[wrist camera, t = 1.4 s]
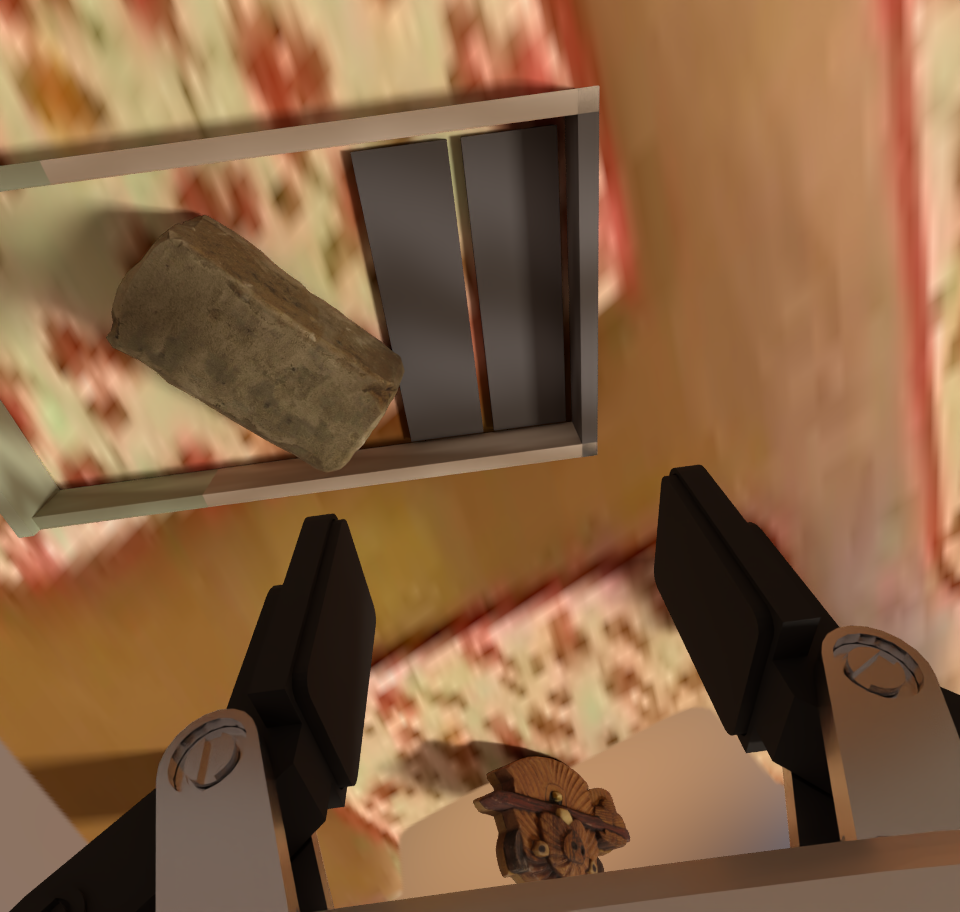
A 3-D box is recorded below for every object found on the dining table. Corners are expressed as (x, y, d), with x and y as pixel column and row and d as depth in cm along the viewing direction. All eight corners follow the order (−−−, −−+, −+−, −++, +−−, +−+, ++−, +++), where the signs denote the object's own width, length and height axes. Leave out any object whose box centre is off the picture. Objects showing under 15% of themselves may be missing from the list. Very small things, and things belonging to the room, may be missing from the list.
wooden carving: (629, 774, 51) (667, 903, 43) (597, 796, 53) (628, 924, 44) (488, 727, 45) (500, 866, 37) (458, 753, 47) (463, 891, 39)
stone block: (352, 434, 29) (334, 487, 25) (142, 302, 25) (78, 339, 21) (415, 356, 27) (406, 400, 23) (195, 196, 23) (133, 213, 19)
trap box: (586, 431, 30) (599, 460, 28) (53, 503, 30) (18, 537, 28) (583, 89, 22) (603, 84, 19) (-161, 189, 22) (-239, 197, 19)
